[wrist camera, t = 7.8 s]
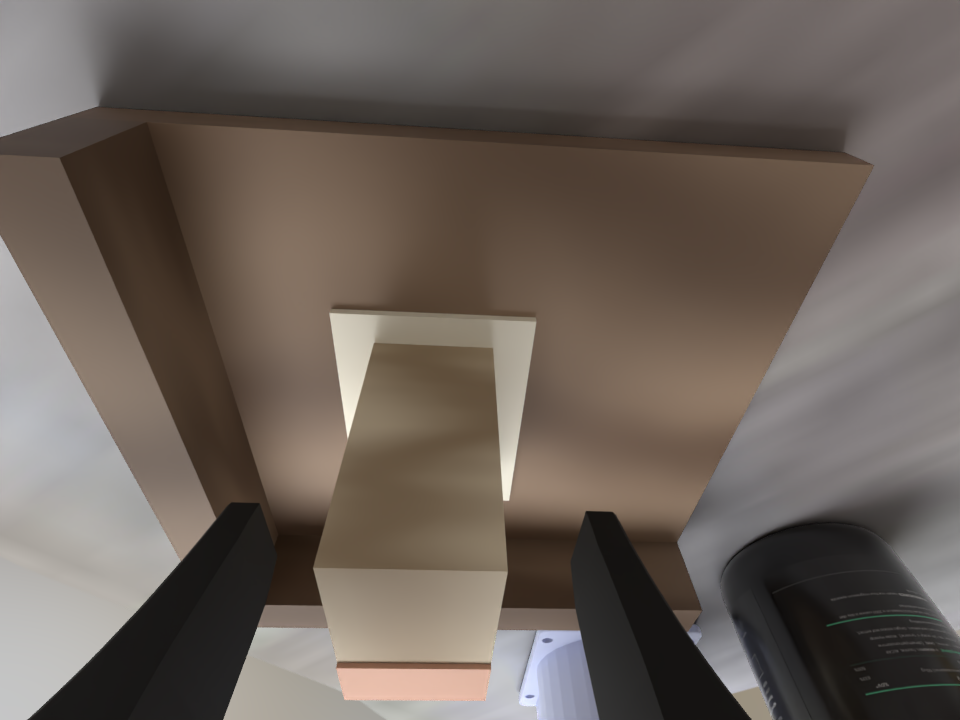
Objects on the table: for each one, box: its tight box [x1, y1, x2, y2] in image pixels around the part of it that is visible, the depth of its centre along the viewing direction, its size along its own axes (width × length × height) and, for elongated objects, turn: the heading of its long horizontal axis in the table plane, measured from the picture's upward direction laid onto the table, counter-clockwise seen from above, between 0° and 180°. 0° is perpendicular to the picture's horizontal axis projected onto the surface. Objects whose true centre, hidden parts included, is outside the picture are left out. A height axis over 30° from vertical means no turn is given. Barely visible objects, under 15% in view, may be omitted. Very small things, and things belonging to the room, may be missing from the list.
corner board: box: [0, 107, 874, 632], centre depth 14 cm, size 15×16×4 cm
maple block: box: [313, 343, 508, 701], centre depth 11 cm, size 3×5×6 cm, turn 176°
